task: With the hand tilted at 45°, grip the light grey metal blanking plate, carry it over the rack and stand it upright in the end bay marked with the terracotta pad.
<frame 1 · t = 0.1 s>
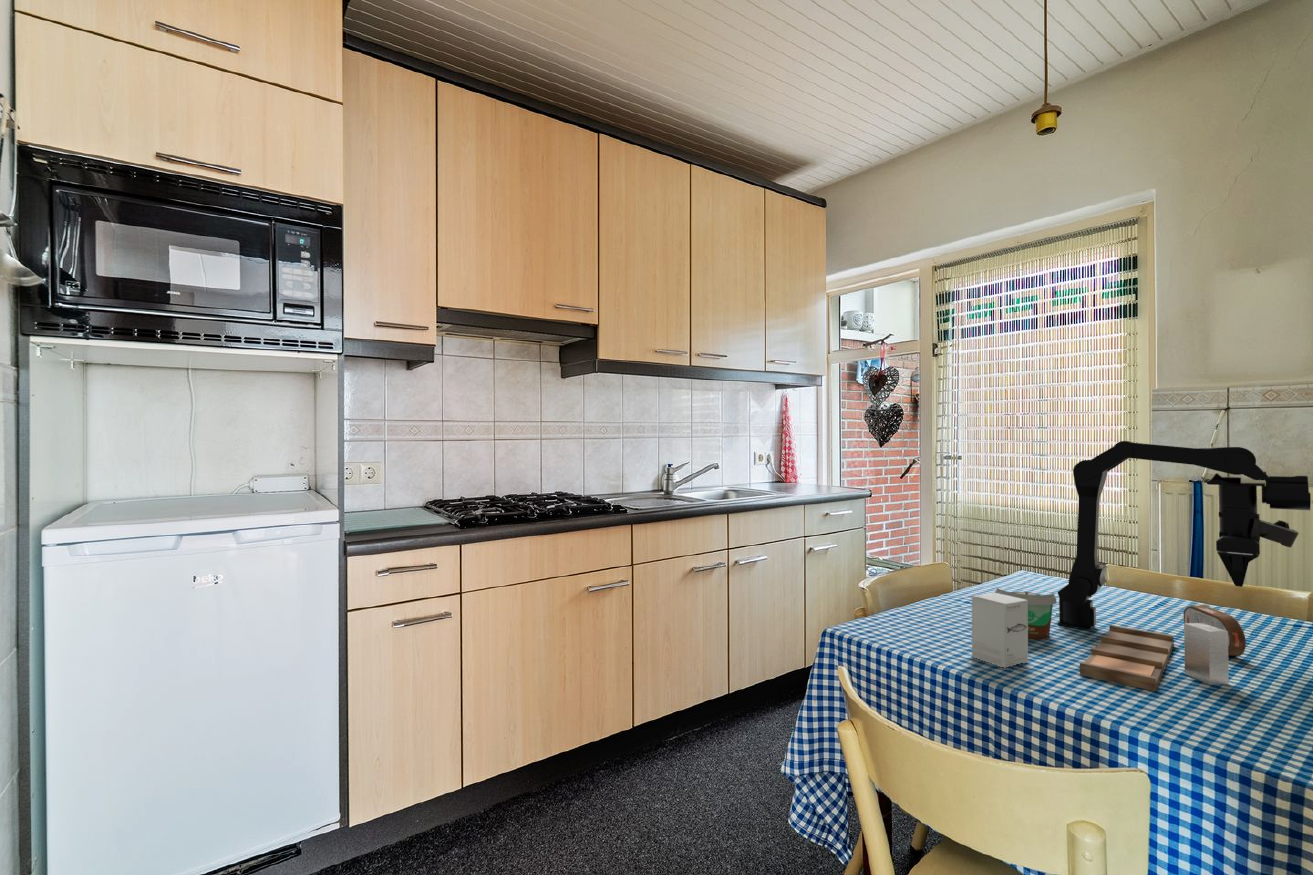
hand: (1239, 582, 125), 15 cm above the table, tool pointing down, fingers open, 9 cm apart
rack: (1129, 659, 121), on the table
tin: (1212, 650, 127), on the table
supplement box: (999, 661, 121), on the table
food container: (1027, 637, 136), on the table
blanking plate: (1206, 678, 111), on the table
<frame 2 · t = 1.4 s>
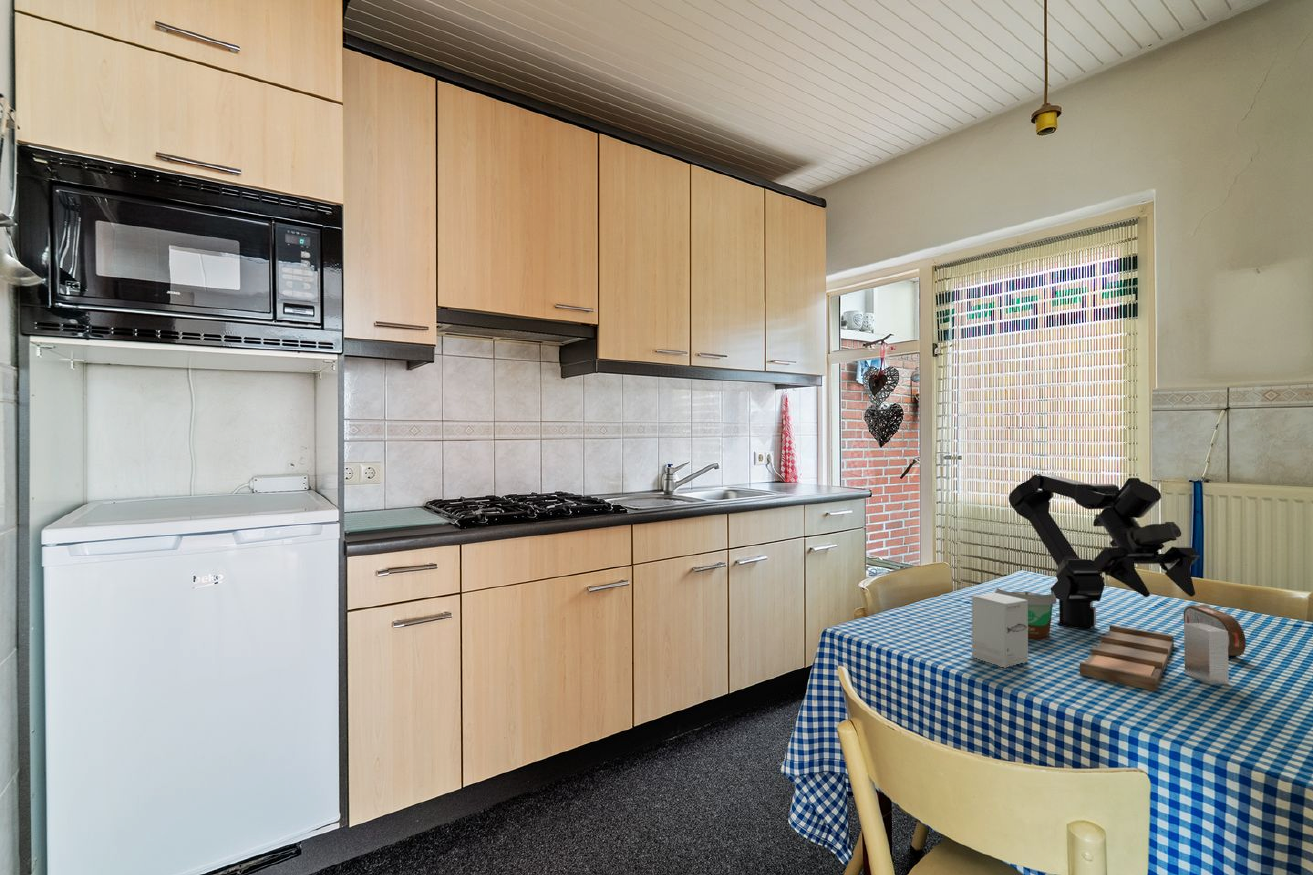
hand: (1170, 595, 119), 13 cm above the table, tool tilted 45°, fingers open, 9 cm apart
nothing on the table moved.
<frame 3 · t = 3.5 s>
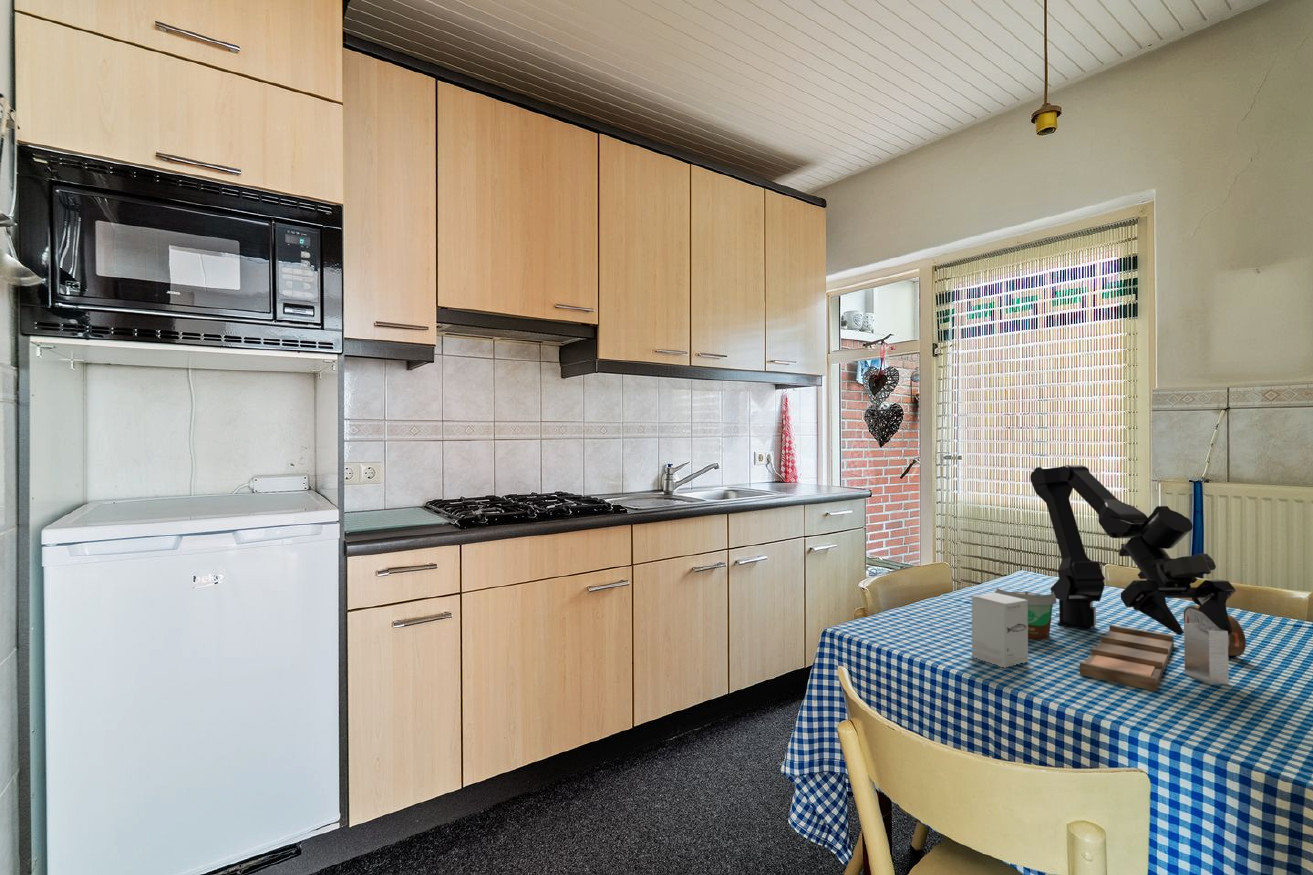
hand: (1205, 633, 111), 8 cm above the table, tool tilted 45°, fingers open, 9 cm apart
nothing on the table moved.
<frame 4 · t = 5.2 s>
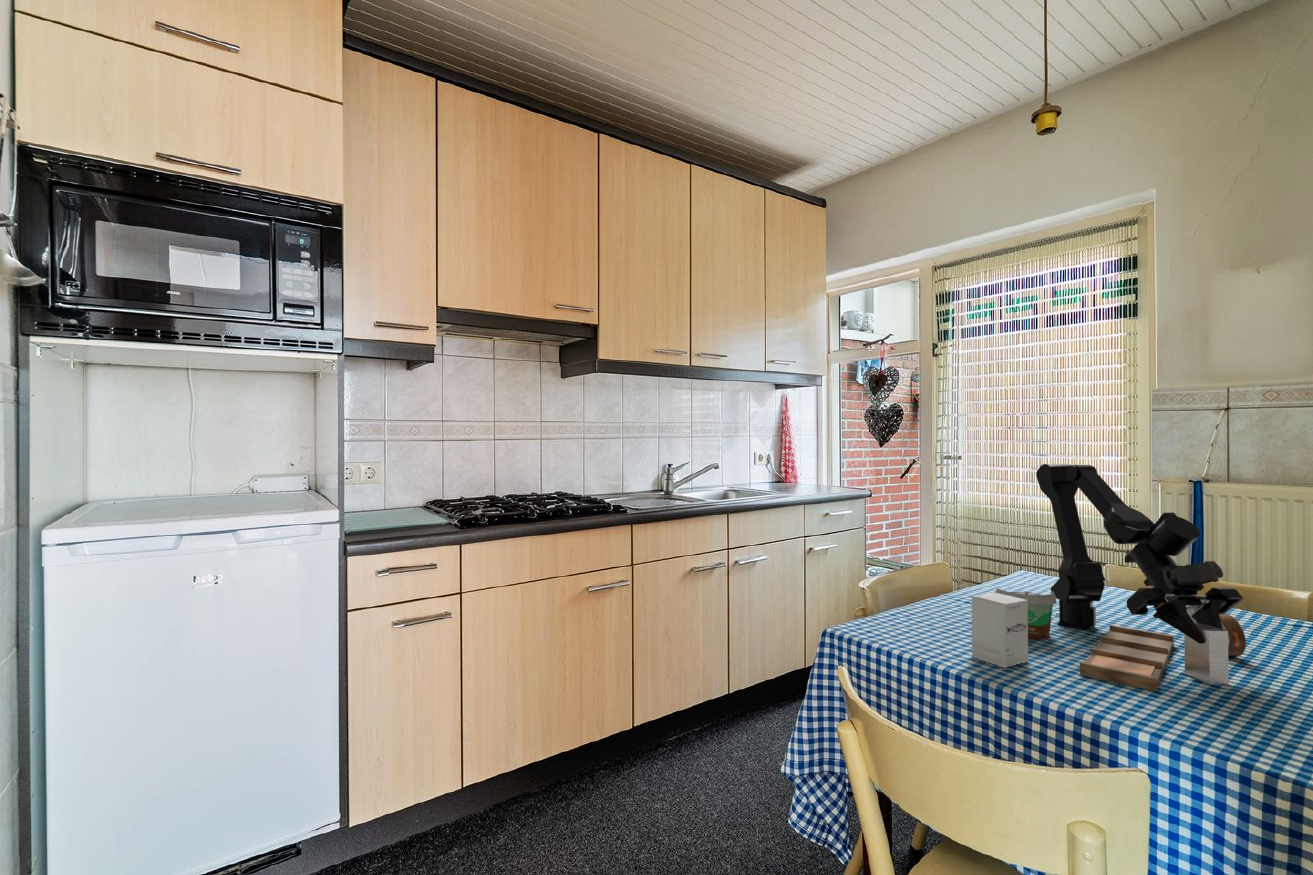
hand: (1212, 642, 110), 7 cm above the table, tool tilted 45°, fingers closed on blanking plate, 3 cm apart
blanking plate: (1206, 678, 111), on the table, touching gripper
everything else where it was.
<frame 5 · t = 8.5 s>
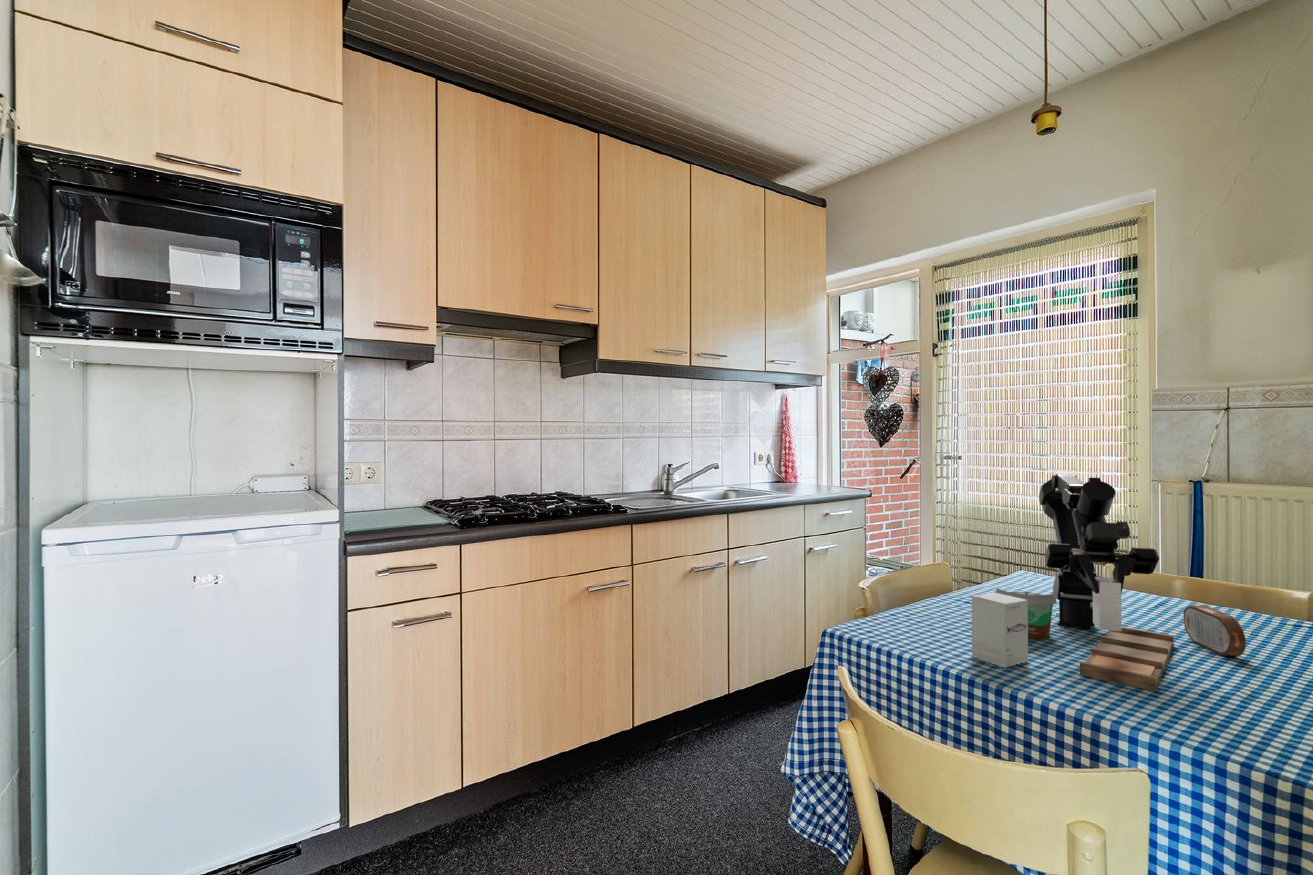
hand: (1108, 593, 121), 13 cm above the table, tool tilted 45°, fingers closed on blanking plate, 3 cm apart
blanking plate: (1106, 626, 122), point 6 cm above the table, touching gripper
everything else where it was.
when the fingers open (10 cm above the table, at t = 11.8 s): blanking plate drops 1 cm, resting on rack.
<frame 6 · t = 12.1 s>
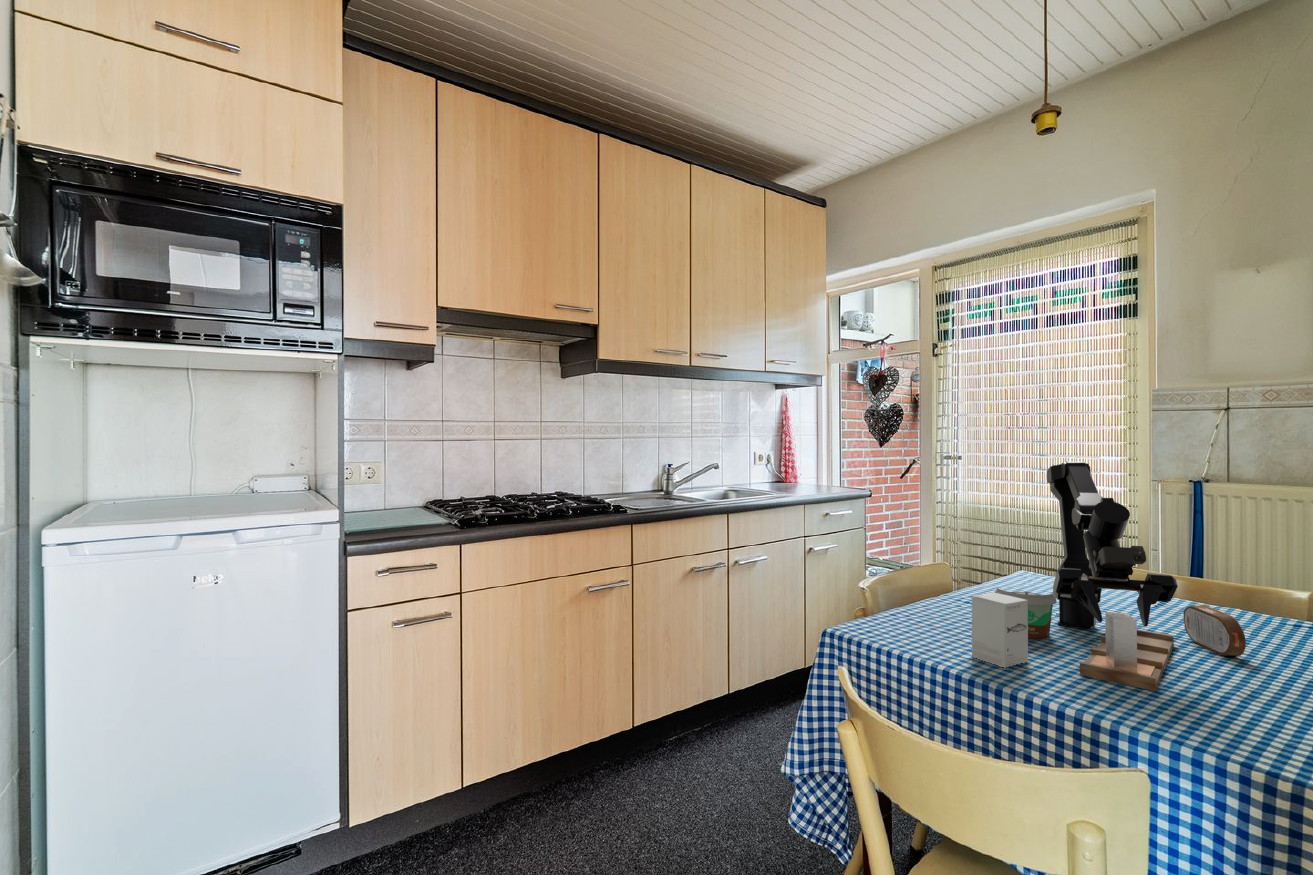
hand: (1123, 623, 112), 10 cm above the table, tool tilted 45°, fingers open, 7 cm apart
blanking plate: (1121, 666, 114), point 1 cm above the table, touching rack
everything else where it was.
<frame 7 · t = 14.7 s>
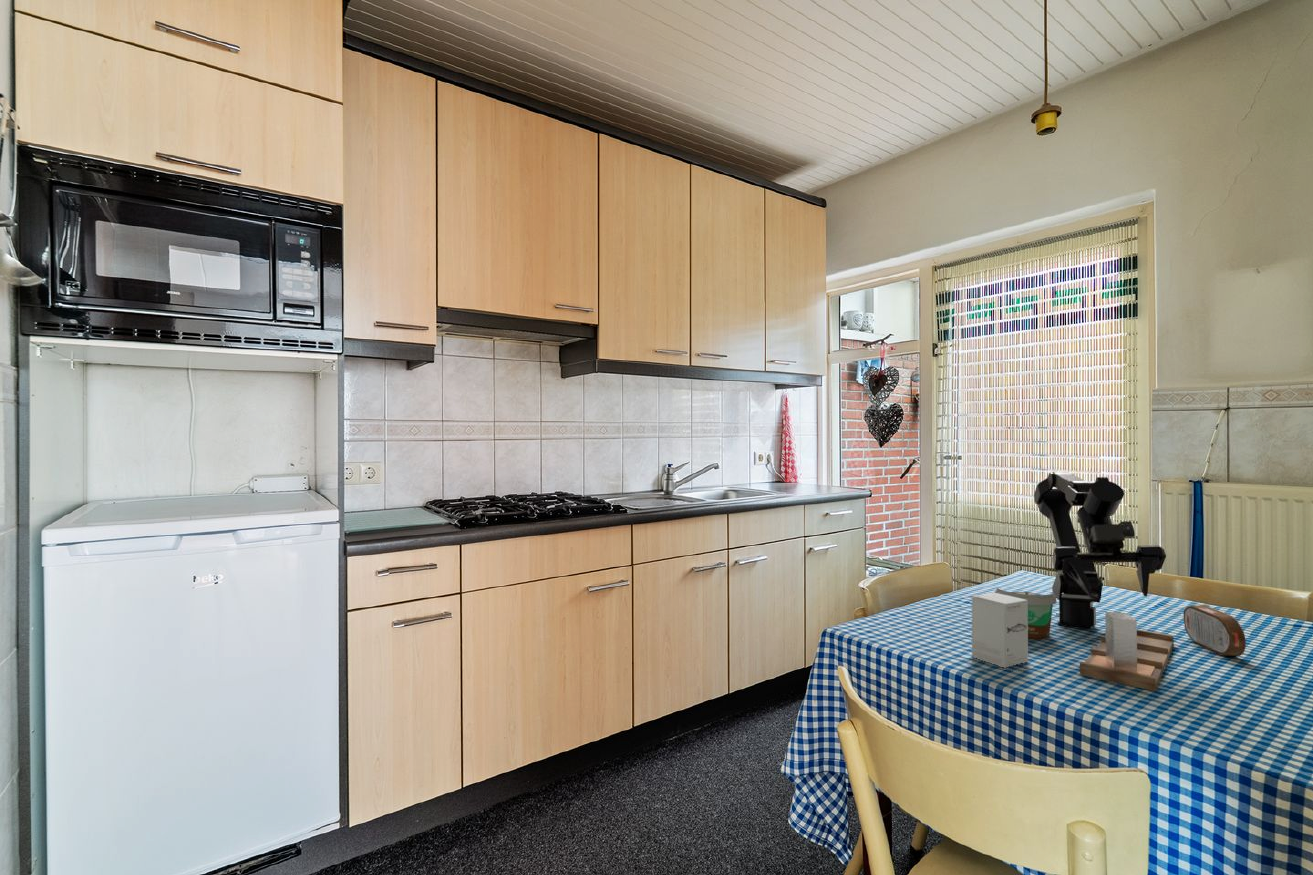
hand: (1117, 594, 121), 13 cm above the table, tool tilted 40°, fingers open, 9 cm apart
nothing on the table moved.
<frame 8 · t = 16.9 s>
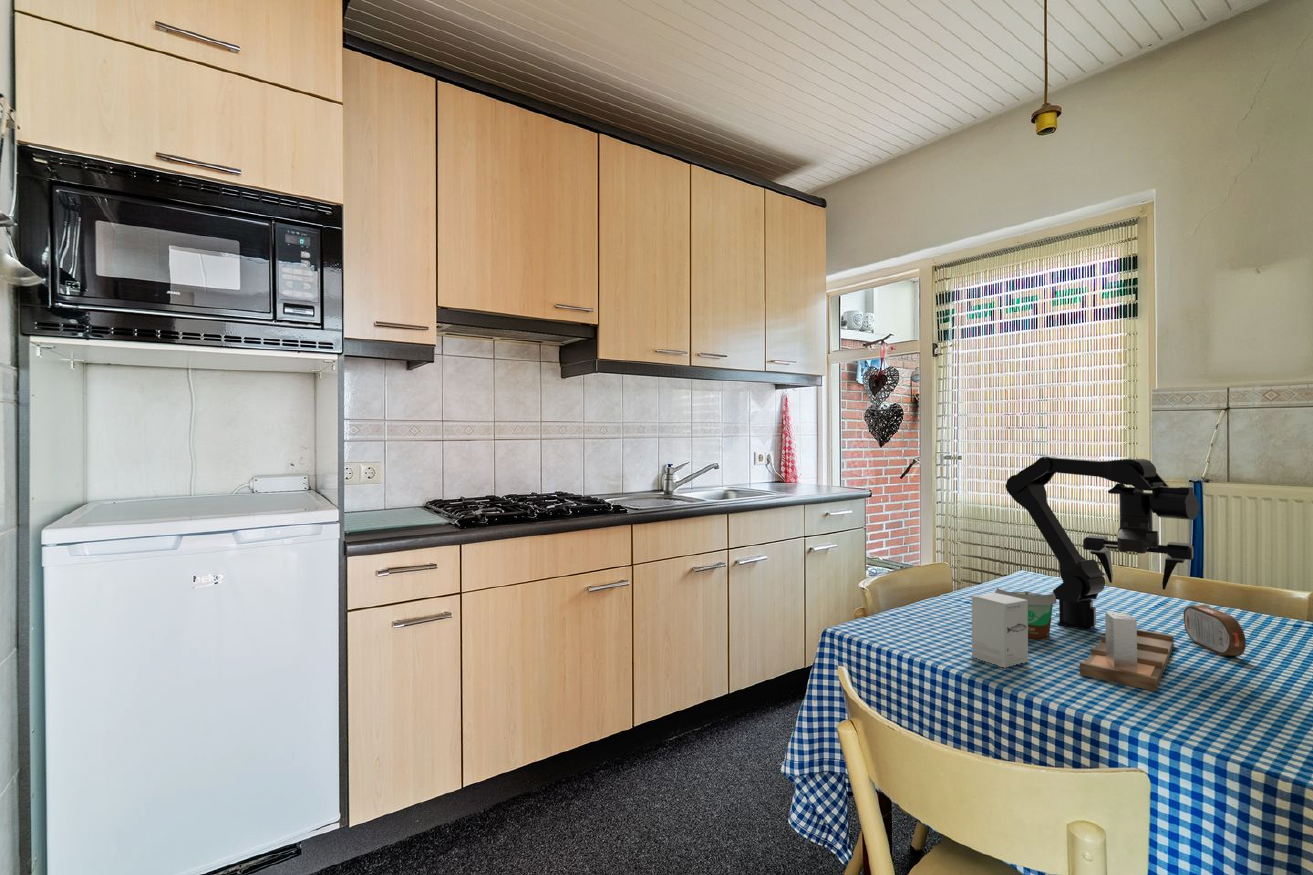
hand: (1136, 585, 133), 12 cm above the table, tool pointing down, fingers open, 9 cm apart
nothing on the table moved.
at the end: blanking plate inside the target area on the rack (0.0 cm from its centre), point 1.4 cm above the rack's base; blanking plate tilted 0°; the gripper is holding nothing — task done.
